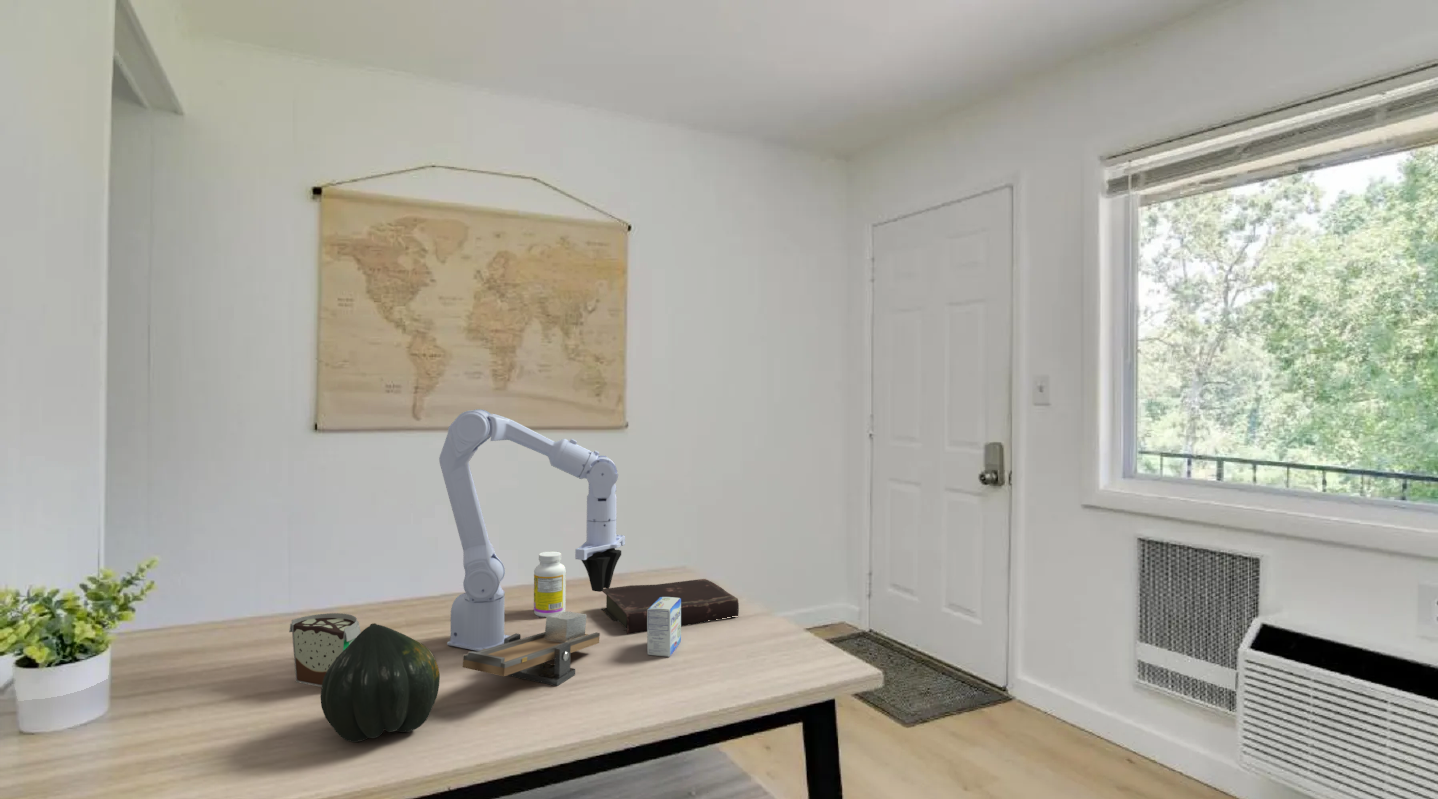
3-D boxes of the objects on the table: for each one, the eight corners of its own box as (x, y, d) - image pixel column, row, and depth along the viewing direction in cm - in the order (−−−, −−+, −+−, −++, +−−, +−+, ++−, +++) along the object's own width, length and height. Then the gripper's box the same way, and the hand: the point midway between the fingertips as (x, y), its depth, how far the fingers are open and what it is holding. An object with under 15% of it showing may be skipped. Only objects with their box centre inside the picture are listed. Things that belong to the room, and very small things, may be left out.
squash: (423, 717, 91) (434, 607, 100) (295, 732, 87) (319, 618, 97) (440, 748, 101) (449, 646, 111) (327, 763, 98) (346, 656, 108)
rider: (544, 639, 123) (546, 616, 124) (564, 633, 129) (566, 611, 129) (565, 643, 122) (567, 619, 122) (584, 637, 127) (586, 614, 128)
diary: (739, 621, 149) (739, 598, 149) (627, 638, 138) (627, 613, 137) (702, 596, 165) (702, 575, 165) (599, 610, 154) (599, 587, 154)
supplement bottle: (542, 607, 154) (542, 549, 154) (570, 609, 153) (571, 551, 153) (528, 616, 148) (528, 556, 148) (557, 619, 146) (558, 558, 146)
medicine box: (670, 657, 126) (670, 610, 126) (646, 655, 127) (646, 608, 127) (681, 642, 134) (681, 597, 134) (658, 640, 135) (659, 595, 135)
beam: (461, 667, 108) (463, 651, 108) (562, 636, 131) (563, 623, 132) (504, 676, 104) (506, 659, 105) (599, 643, 128) (600, 629, 128)
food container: (377, 677, 116) (378, 617, 116) (347, 692, 110) (347, 628, 110) (321, 666, 120) (321, 608, 120) (288, 680, 114) (289, 619, 114)
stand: (498, 673, 118) (498, 640, 118) (517, 663, 123) (518, 631, 123) (557, 686, 113) (557, 651, 113) (575, 674, 118) (575, 641, 118)
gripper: (598, 527, 127) (597, 601, 128) (638, 515, 141) (637, 582, 141) (566, 524, 130) (565, 597, 130) (608, 512, 144) (607, 578, 144)
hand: (600, 589), depth 136 cm, fingers closed
